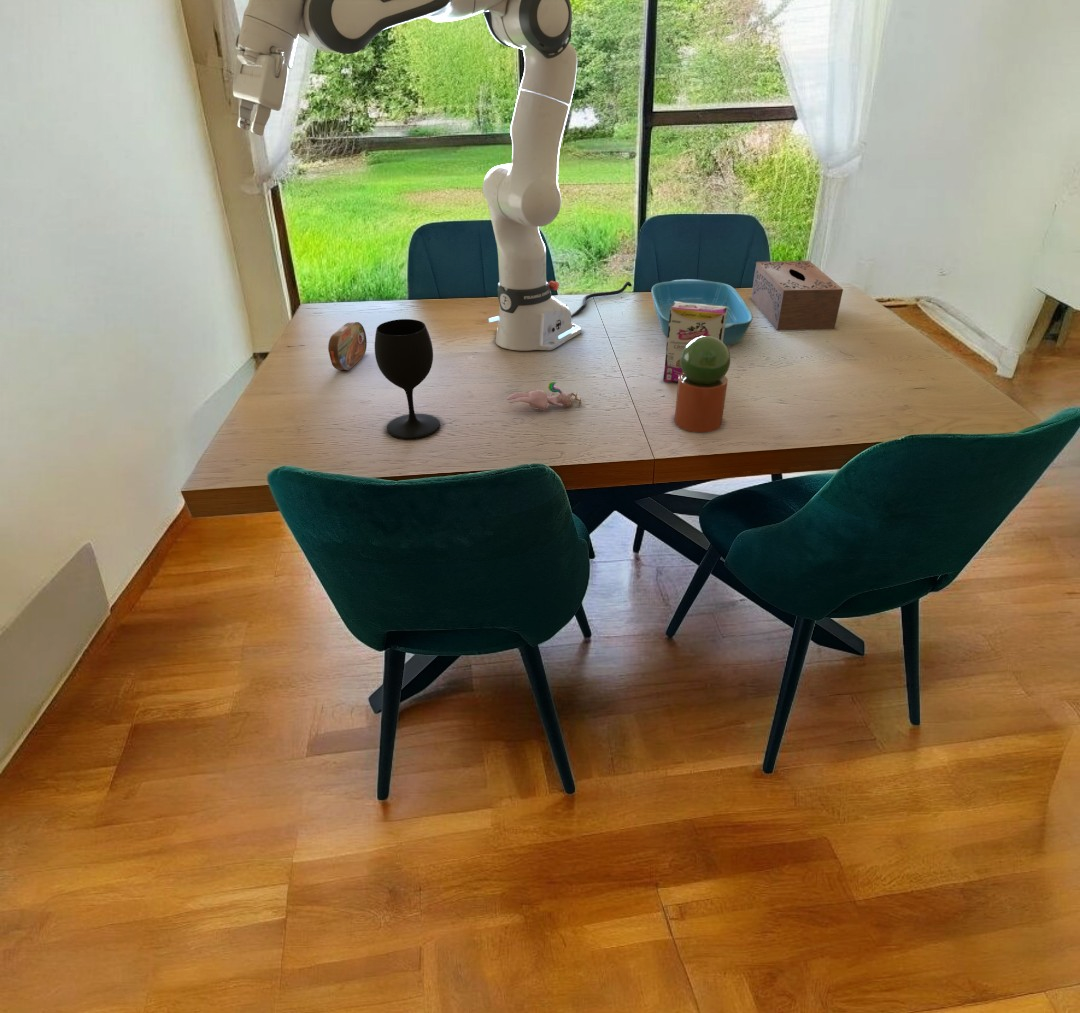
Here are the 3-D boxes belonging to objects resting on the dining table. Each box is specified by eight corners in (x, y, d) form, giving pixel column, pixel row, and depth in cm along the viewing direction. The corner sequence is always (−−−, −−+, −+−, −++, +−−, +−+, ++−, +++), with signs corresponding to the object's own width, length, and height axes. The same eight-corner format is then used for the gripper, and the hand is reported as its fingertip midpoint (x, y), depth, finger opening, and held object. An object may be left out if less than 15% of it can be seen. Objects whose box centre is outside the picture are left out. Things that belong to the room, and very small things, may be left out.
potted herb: (691, 407, 145) (700, 325, 135) (730, 421, 139) (743, 336, 130) (665, 422, 139) (672, 338, 130) (704, 437, 134) (715, 350, 125)
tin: (343, 376, 160) (336, 339, 156) (330, 375, 161) (323, 339, 156) (369, 351, 173) (364, 317, 168) (357, 350, 173) (351, 316, 169)
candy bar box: (662, 382, 155) (668, 307, 146) (666, 373, 159) (673, 300, 150) (715, 389, 152) (725, 312, 143) (718, 379, 156) (728, 305, 147)
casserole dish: (758, 354, 167) (763, 324, 163) (662, 355, 168) (664, 325, 164) (725, 304, 198) (729, 277, 194) (644, 305, 198) (646, 278, 195)
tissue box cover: (751, 298, 202) (756, 261, 196) (802, 297, 202) (809, 260, 196) (777, 330, 180) (783, 290, 175) (834, 329, 180) (843, 289, 175)
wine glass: (389, 416, 143) (374, 318, 132) (441, 413, 144) (431, 316, 133) (384, 441, 135) (368, 338, 124) (439, 438, 135) (429, 336, 124)
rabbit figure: (572, 403, 150) (502, 402, 145) (576, 376, 147) (506, 374, 142) (582, 416, 145) (510, 415, 140) (587, 388, 142) (514, 387, 137)
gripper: (303, 56, 118) (283, 144, 122) (269, 54, 132) (253, 132, 137) (264, 38, 114) (245, 129, 118) (233, 37, 128) (218, 119, 133)
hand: (249, 131), depth 128 cm, fingers open, 8 cm apart
